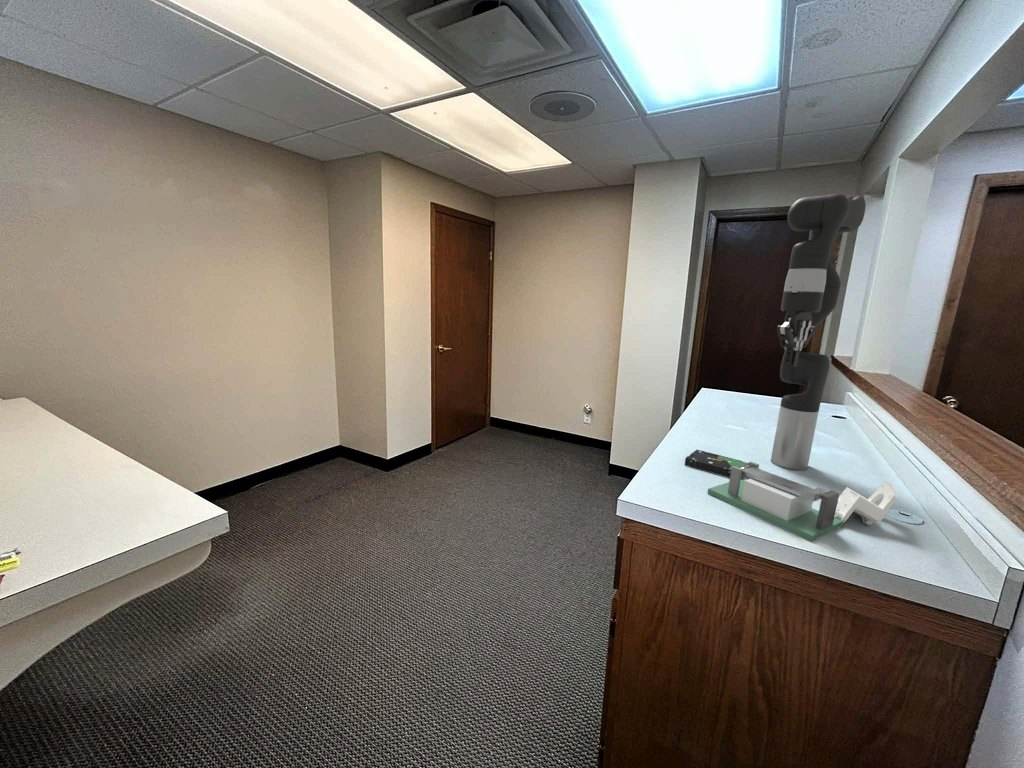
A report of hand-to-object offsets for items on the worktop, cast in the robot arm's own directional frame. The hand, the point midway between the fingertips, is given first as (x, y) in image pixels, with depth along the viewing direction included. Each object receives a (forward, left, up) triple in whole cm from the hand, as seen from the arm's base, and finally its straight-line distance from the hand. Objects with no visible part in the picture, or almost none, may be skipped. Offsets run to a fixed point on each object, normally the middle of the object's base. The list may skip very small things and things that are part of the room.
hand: (790, 366), depth 97 cm
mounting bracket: (-5, +17, -32) cm, 37 cm away
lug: (+8, +15, -31) cm, 35 cm away
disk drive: (-3, -16, -33) cm, 36 cm away
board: (+8, +5, -32) cm, 33 cm away
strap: (+8, +6, -26) cm, 28 cm away
